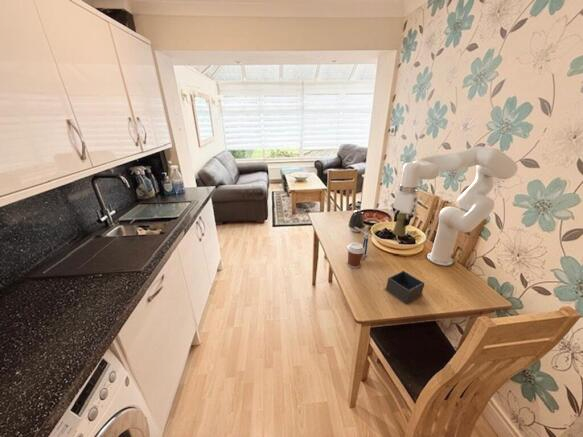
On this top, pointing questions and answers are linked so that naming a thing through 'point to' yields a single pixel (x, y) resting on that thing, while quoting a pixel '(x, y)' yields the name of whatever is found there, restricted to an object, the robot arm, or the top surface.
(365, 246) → the alien figure
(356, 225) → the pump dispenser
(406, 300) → the bin
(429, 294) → the top surface
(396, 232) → the olive flared cylinder
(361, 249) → the coffee cup
